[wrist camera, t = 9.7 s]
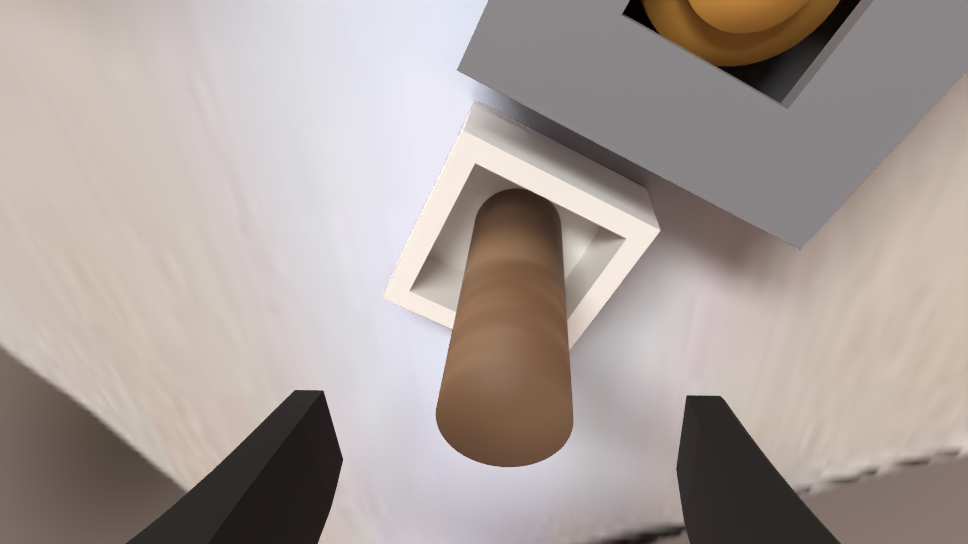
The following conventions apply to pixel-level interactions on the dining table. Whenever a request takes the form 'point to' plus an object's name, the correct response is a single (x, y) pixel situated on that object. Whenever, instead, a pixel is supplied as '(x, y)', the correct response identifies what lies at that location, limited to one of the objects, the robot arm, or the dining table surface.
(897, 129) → the box
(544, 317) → the brown wooden cylinder
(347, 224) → the dining table surface
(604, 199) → the box
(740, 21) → the button
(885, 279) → the dining table surface
